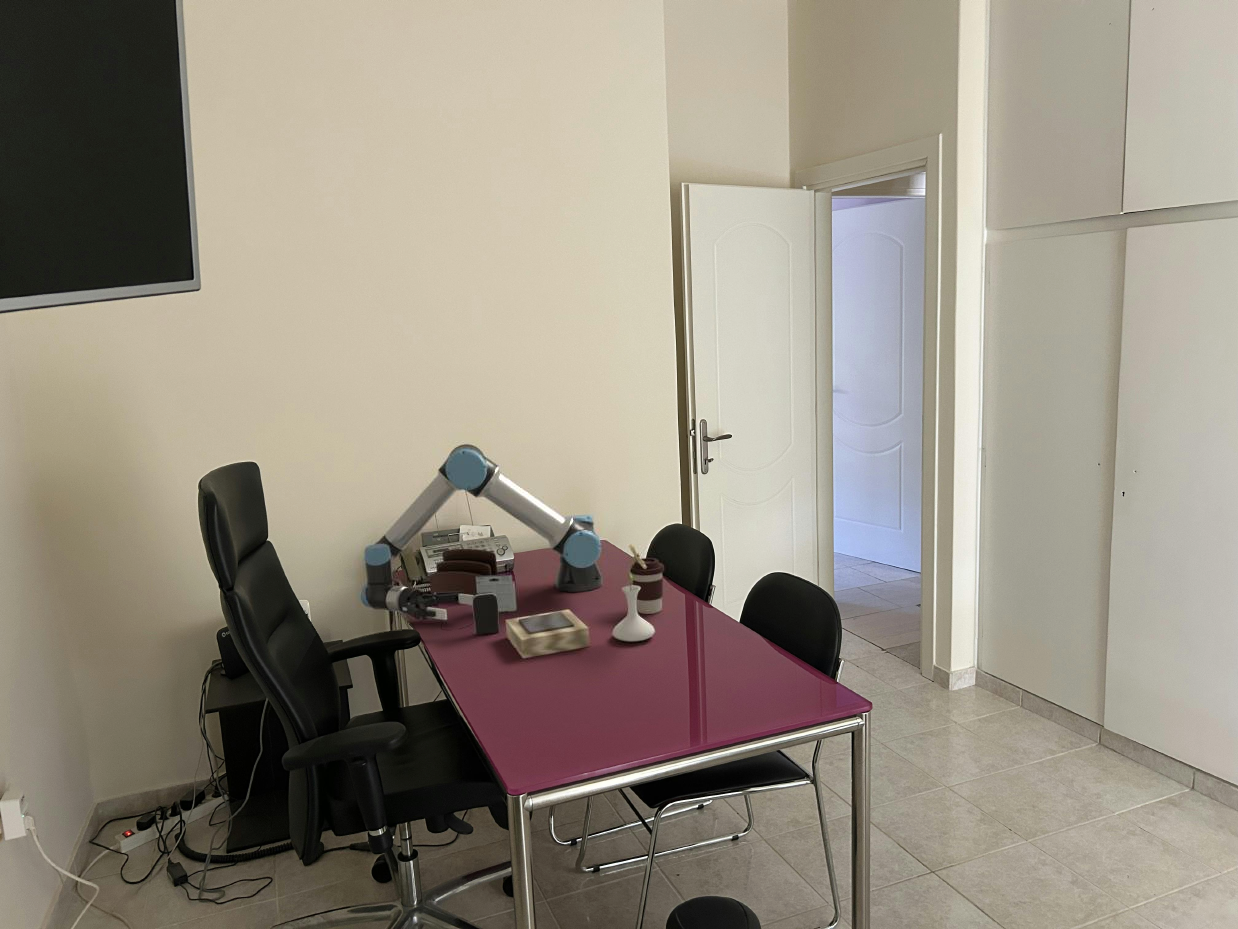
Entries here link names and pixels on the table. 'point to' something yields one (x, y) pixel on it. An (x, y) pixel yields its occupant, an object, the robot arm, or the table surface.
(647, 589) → the coffee cup
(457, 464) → the robot arm
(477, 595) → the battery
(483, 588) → the ink box
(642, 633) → the flower in vase
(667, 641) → the table surface
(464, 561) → the letter holder
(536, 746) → the table surface
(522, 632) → the stand
